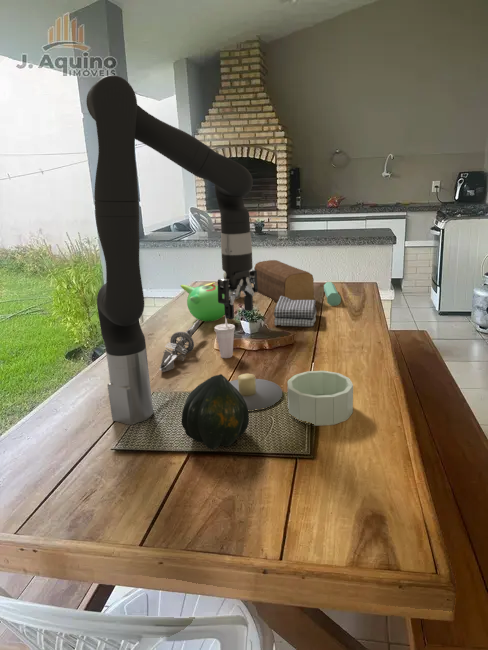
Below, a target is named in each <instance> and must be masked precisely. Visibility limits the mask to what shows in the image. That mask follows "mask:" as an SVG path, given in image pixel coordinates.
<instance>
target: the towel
mask: <svg viewBox="0 0 488 650" xmlns="http://www.w3.org/2000/svg"><path fill="white" fill-rule="evenodd" d="M316 303H317V302H316V299H314V300H292V299H289V298H287V297H284V296H280V298H279V301H278V302H276V305H275V307H274V312H273V317H274V321H273V322H274V326H277V325H281V326H280V327H301V328H302V327H304V328H305V327H314V325H315V322H316V316H317V305H316Z"/></svg>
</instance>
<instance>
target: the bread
mask: <svg viewBox="0 0 488 650" xmlns="http://www.w3.org/2000/svg"><path fill="white" fill-rule="evenodd" d="M253 270H256V271H257V283H258V292H257V293H259V294H261V295H263V296H265V297H266V296H267V298H268V297H269V298H268V299H270V298H271V299H270V300H272V301H273V300H274V301H273V302H275V301H276V302H275V303H277V302H278V301H279V298H280V296H284V297H287V298H289V299H292V300H315V295H314V294H315V290H314V289H315V288H314V276H313V274H312V273H310V272H309V271H306V270H303V269H300V268H298V267H295V266H292V265H289V264H288V263H284V262H281V261H279V260H275V259H272V260H271V259H269V260H262V261H259V262H257V263H255V265H254V269H253Z"/></svg>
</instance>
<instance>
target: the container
mask: <svg viewBox="0 0 488 650" xmlns="http://www.w3.org/2000/svg"><path fill="white" fill-rule="evenodd" d="M323 291H324V294H325V296H326V304H328V305H330V306H334V307H336V306H339V305H340V304H341V302H342V296H341V295H340V294H339V292H338V290H337V288H336V286H335V284H334V283H333V282H332V281H326V282H325V284H323Z"/></svg>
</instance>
